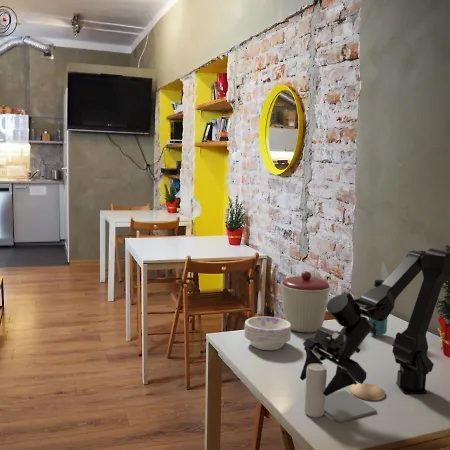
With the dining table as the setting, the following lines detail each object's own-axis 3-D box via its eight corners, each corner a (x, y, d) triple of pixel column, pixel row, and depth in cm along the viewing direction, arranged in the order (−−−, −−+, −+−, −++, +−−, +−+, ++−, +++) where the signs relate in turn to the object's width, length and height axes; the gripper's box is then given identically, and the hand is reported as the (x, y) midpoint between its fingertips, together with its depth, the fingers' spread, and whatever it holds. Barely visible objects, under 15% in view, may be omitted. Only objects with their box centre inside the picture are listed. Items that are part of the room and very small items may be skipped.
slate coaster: (344, 392, 141) (344, 390, 141) (376, 412, 131) (376, 410, 131) (308, 400, 136) (308, 398, 136) (338, 422, 125) (338, 420, 125)
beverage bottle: (388, 334, 187) (392, 280, 184) (383, 340, 182) (387, 283, 179) (370, 331, 191) (374, 277, 188) (364, 336, 185) (368, 280, 182)
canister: (339, 331, 189) (343, 274, 186) (301, 340, 179) (304, 279, 176) (305, 317, 204) (308, 264, 201) (268, 324, 194) (270, 268, 191)
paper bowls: (279, 336, 183) (280, 313, 182) (297, 352, 169) (298, 328, 167) (238, 339, 179) (238, 316, 178) (252, 356, 164) (253, 331, 163)
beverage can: (310, 406, 133) (313, 361, 131) (327, 413, 130) (330, 366, 128) (300, 413, 129) (303, 367, 127) (317, 420, 126) (320, 372, 124)
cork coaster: (379, 385, 146) (379, 383, 146) (389, 400, 137) (389, 398, 137) (346, 384, 146) (346, 382, 146) (355, 400, 137) (355, 398, 137)
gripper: (310, 307, 136) (272, 354, 133) (360, 329, 120) (318, 384, 116) (333, 332, 141) (296, 378, 137) (383, 357, 125) (344, 410, 121)
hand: (312, 386), depth 128 cm, fingers open, 9 cm apart
